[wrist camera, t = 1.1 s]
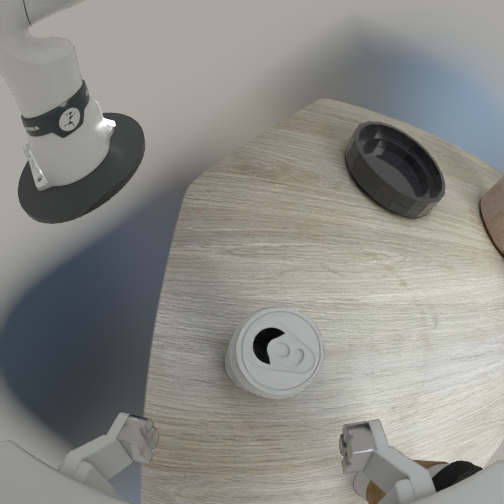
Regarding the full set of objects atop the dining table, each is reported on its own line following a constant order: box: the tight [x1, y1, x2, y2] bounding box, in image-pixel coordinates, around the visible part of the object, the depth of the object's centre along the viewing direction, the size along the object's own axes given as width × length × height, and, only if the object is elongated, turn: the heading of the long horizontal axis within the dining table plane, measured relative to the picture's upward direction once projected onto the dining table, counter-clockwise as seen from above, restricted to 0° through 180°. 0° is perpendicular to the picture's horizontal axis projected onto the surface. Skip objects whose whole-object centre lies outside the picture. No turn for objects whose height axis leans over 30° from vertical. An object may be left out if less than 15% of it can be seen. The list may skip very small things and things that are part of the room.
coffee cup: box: [354, 460, 482, 504], centre depth 14 cm, size 8×8×15 cm
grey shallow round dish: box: [346, 121, 445, 218], centre depth 40 cm, size 19×19×5 cm
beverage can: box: [225, 307, 324, 399], centre depth 21 cm, size 6×6×12 cm
